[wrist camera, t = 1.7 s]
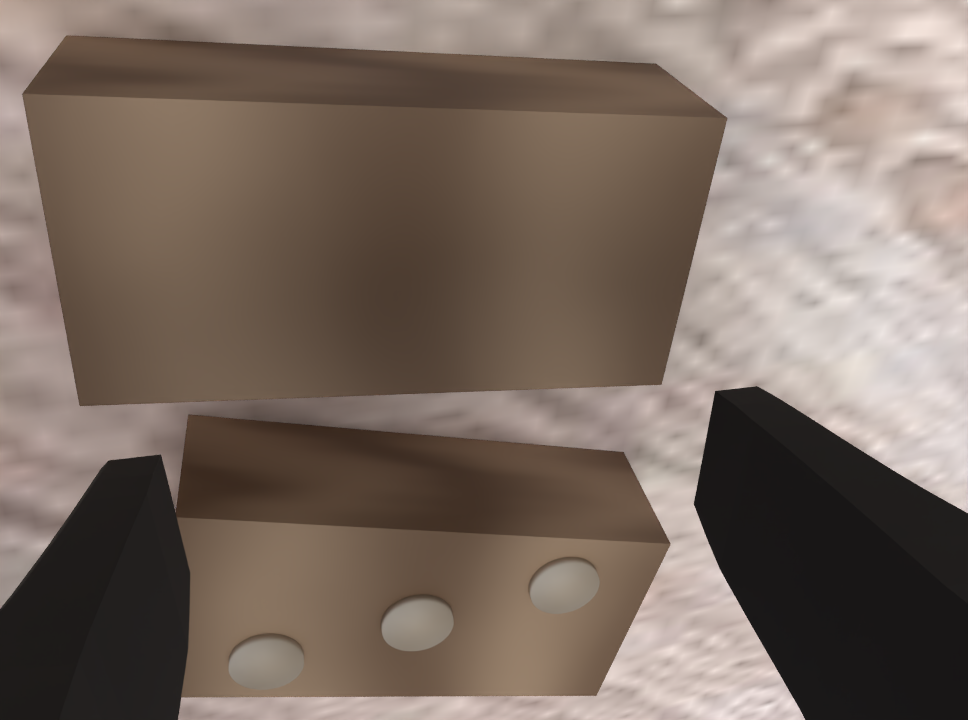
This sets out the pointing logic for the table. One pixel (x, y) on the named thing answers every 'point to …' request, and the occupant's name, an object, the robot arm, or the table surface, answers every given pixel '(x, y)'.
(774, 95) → the table surface
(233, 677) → the pip block three
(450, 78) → the plain block
